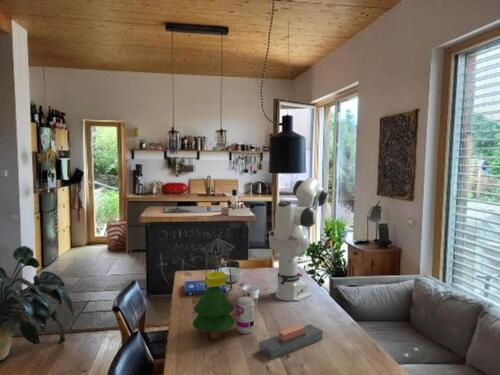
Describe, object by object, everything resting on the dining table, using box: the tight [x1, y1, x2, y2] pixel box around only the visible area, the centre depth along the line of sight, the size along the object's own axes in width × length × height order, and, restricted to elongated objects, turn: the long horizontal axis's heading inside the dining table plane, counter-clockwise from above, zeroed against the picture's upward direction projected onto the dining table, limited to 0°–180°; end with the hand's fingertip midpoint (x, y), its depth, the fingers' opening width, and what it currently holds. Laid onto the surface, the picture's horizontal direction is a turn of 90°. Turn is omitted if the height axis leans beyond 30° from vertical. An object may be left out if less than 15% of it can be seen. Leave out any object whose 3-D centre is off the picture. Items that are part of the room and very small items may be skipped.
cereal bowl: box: [219, 266, 243, 284], centre depth 244 cm, size 17×17×7 cm
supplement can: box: [236, 296, 255, 334], centre depth 174 cm, size 8×8×15 cm
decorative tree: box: [191, 271, 235, 340], centre depth 168 cm, size 19×19×30 cm
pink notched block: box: [278, 324, 305, 342], centre depth 161 cm, size 12×4×7 cm, turn 125°
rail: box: [258, 323, 324, 360], centre depth 161 cm, size 30×8×4 cm, turn 125°
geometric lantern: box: [200, 237, 235, 298], centre depth 214 cm, size 16×16×35 cm
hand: (284, 261), depth 185 cm, fingers open, 8 cm apart
